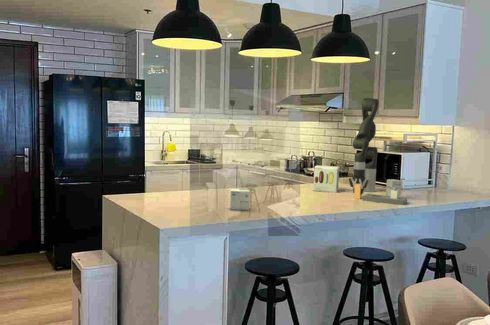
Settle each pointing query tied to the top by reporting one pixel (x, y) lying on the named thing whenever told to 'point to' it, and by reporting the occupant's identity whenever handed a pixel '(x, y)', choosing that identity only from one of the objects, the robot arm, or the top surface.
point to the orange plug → (357, 191)
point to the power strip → (386, 198)
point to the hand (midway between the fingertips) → (358, 193)
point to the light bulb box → (239, 199)
